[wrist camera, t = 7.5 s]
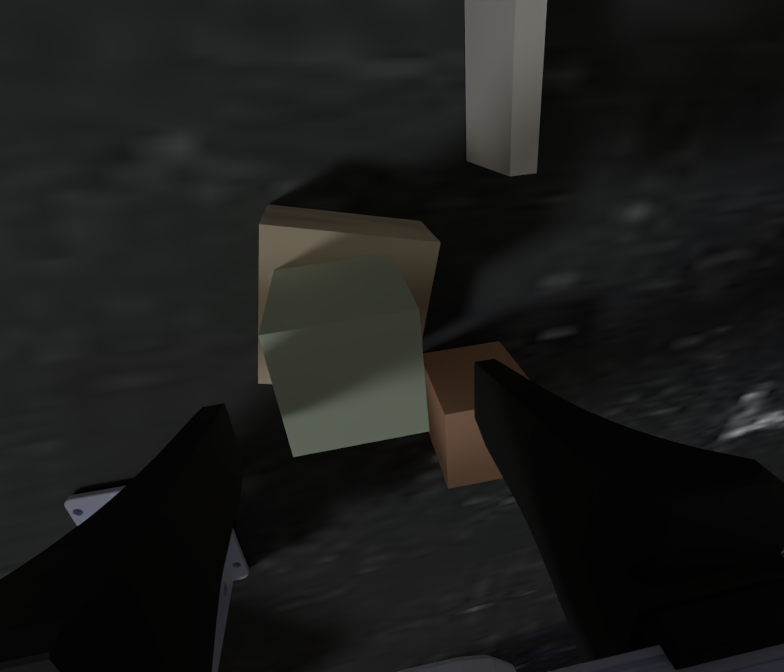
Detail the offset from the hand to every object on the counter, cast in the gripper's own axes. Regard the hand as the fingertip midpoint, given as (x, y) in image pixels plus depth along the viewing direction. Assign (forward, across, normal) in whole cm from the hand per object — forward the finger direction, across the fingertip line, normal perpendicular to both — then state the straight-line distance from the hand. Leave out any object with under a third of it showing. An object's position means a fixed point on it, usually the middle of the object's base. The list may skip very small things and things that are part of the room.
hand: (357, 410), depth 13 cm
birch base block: (+10, 0, 0) cm, 11 cm away
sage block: (+6, 0, 0) cm, 7 cm away
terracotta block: (+10, -6, +7) cm, 14 cm away
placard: (+10, -7, -8) cm, 15 cm away
